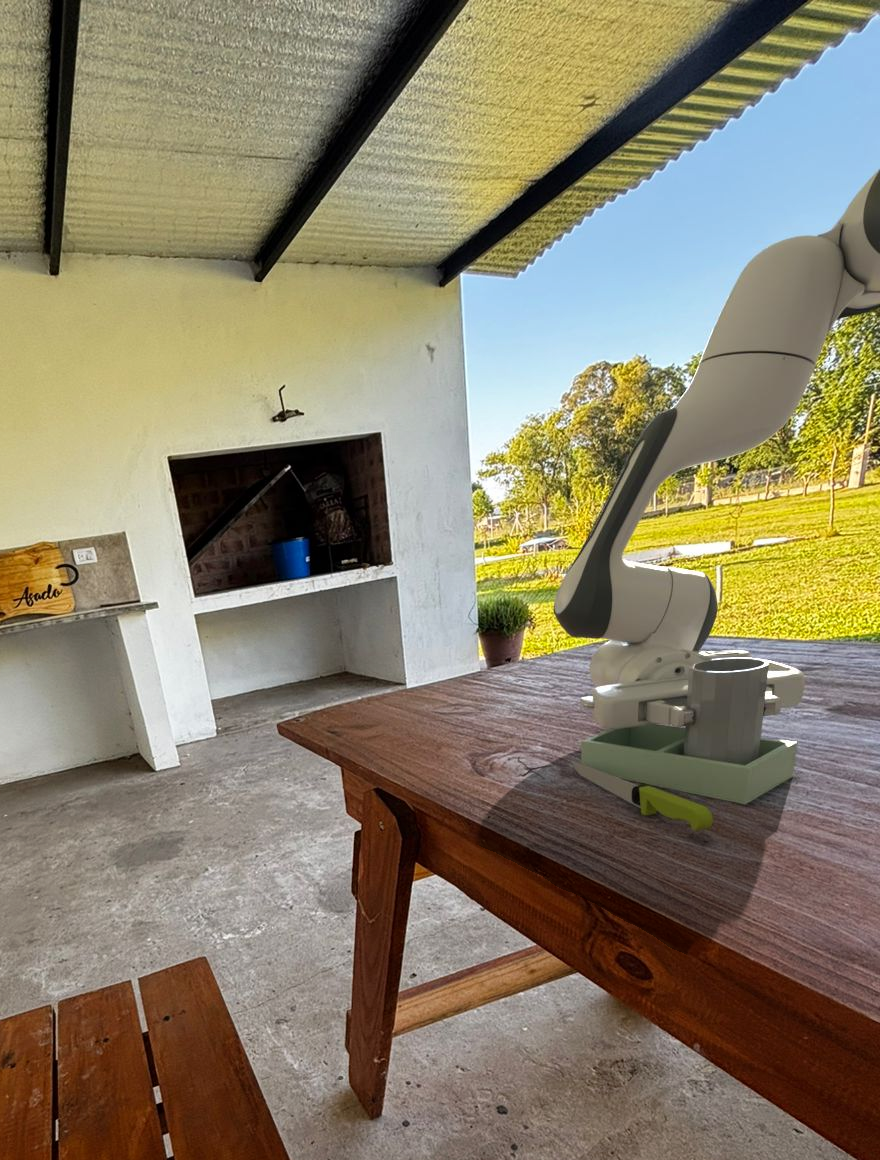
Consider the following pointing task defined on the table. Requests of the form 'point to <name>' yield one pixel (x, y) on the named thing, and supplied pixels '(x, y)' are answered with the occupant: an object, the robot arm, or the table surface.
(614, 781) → the kitchen knife
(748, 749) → the cutlery cup
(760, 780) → the divided tray
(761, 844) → the table surface
